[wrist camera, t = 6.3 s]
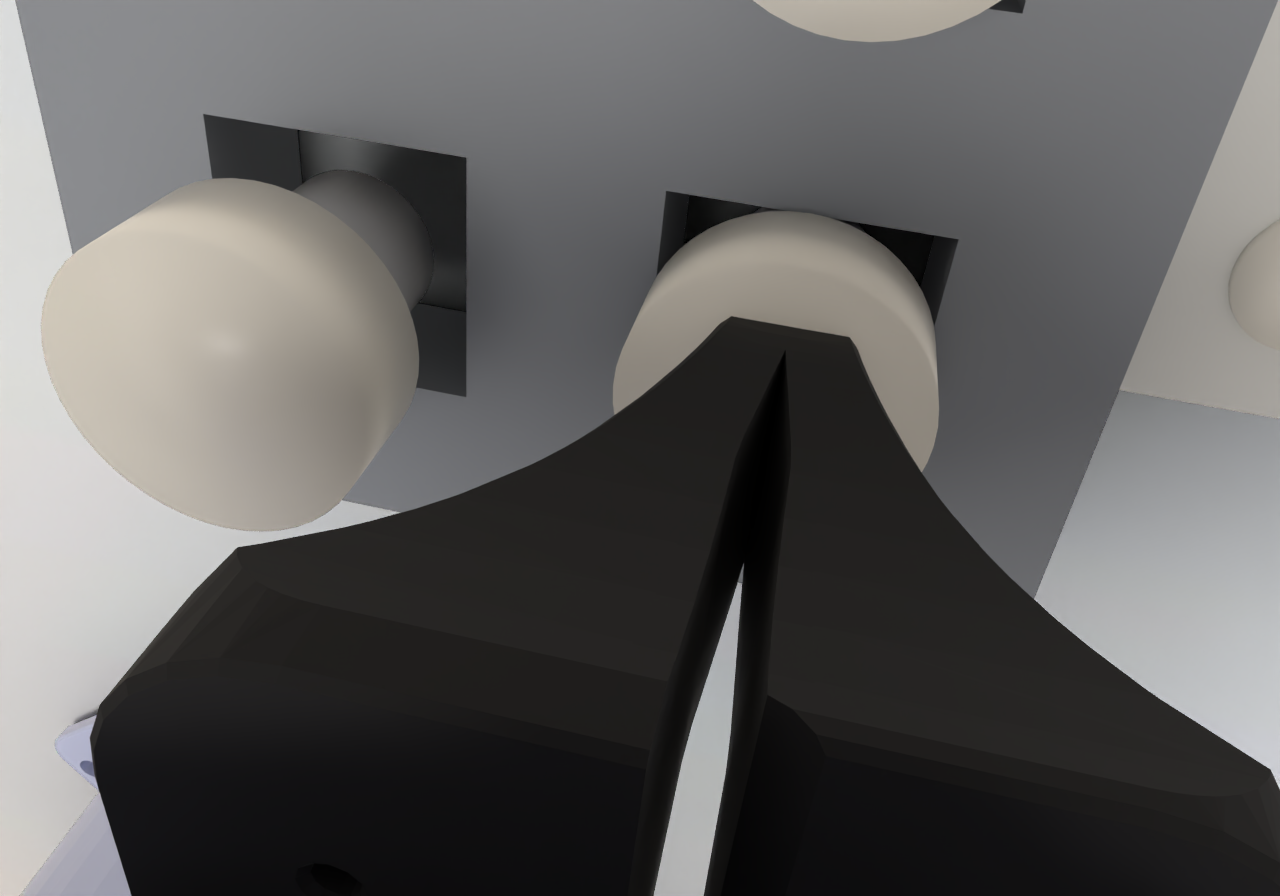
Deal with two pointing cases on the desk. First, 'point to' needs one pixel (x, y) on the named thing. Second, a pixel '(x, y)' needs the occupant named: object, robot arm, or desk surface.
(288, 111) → the board
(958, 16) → the button
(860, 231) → the button
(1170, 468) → the desk surface
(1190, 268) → the card
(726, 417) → the robot arm
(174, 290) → the button
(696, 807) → the desk surface
